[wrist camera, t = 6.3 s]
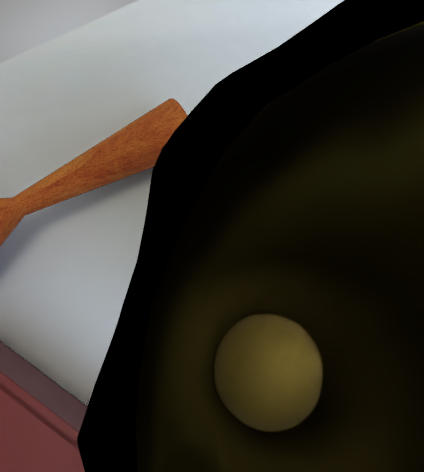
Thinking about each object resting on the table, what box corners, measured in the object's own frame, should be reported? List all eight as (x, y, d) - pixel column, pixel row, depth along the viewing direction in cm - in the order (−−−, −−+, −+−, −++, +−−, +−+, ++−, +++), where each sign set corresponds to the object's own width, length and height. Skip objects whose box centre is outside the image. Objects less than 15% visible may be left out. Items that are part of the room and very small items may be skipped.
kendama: (216, 144, 18) (-216, 369, 14) (202, 183, 24) (-106, 351, 20) (157, 51, 19) (-277, 239, 14) (157, 111, 25) (-153, 259, 20)
